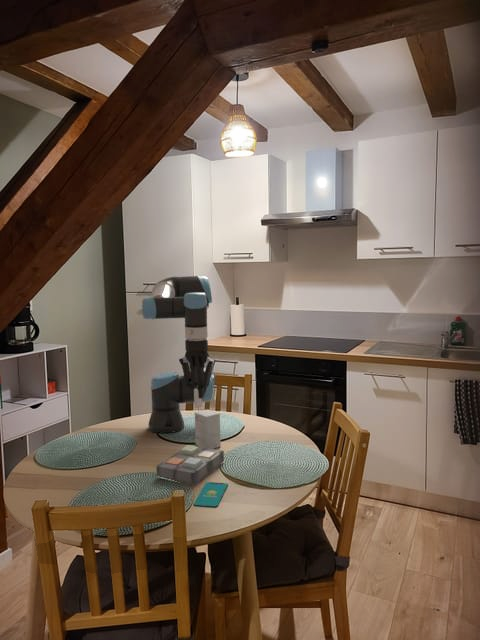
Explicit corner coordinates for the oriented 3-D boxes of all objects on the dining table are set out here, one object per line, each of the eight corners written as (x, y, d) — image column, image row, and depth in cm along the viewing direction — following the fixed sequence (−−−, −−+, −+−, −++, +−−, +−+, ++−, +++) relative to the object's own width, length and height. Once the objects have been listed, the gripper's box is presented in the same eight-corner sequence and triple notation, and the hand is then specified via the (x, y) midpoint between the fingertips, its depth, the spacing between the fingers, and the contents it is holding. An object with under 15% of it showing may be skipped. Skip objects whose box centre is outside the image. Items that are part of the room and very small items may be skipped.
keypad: (156, 478, 155) (156, 466, 155) (189, 456, 173) (189, 445, 173) (194, 486, 150) (194, 473, 149) (223, 462, 167) (223, 450, 167)
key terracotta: (166, 471, 158) (166, 462, 157) (173, 466, 162) (173, 457, 161) (177, 473, 156) (177, 464, 155) (184, 468, 160) (184, 459, 159)
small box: (221, 446, 183) (220, 413, 181) (207, 451, 179) (206, 416, 177) (208, 441, 189) (207, 408, 188) (195, 445, 185) (194, 412, 184)
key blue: (183, 471, 155) (183, 462, 154) (190, 466, 159) (190, 457, 158) (195, 473, 153) (194, 464, 152) (202, 468, 157) (201, 459, 156)
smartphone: (192, 504, 137) (205, 481, 152) (192, 507, 137) (205, 484, 152) (217, 506, 136) (228, 483, 150) (217, 509, 136) (228, 485, 150)
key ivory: (198, 463, 163) (197, 455, 163) (204, 459, 167) (204, 450, 167) (209, 465, 161) (209, 457, 161) (215, 461, 165) (215, 452, 165)
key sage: (181, 457, 166) (181, 449, 165) (188, 453, 170) (187, 445, 169) (192, 459, 164) (192, 451, 164) (198, 455, 168) (198, 446, 167)
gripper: (173, 339, 161) (176, 407, 164) (208, 341, 155) (210, 412, 158) (185, 336, 168) (187, 401, 171) (218, 338, 162) (220, 406, 165)
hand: (198, 406), depth 165 cm, fingers closed
